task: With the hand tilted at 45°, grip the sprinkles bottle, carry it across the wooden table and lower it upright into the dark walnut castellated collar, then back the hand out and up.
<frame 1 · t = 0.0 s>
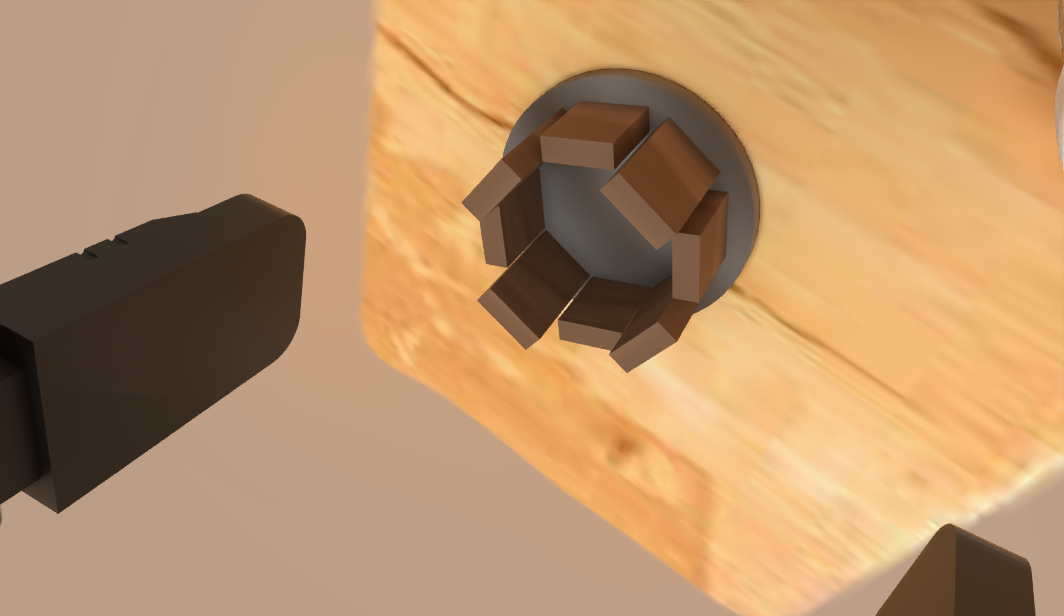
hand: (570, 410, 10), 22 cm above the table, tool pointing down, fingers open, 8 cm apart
castellated collar: (627, 198, 34), on the table
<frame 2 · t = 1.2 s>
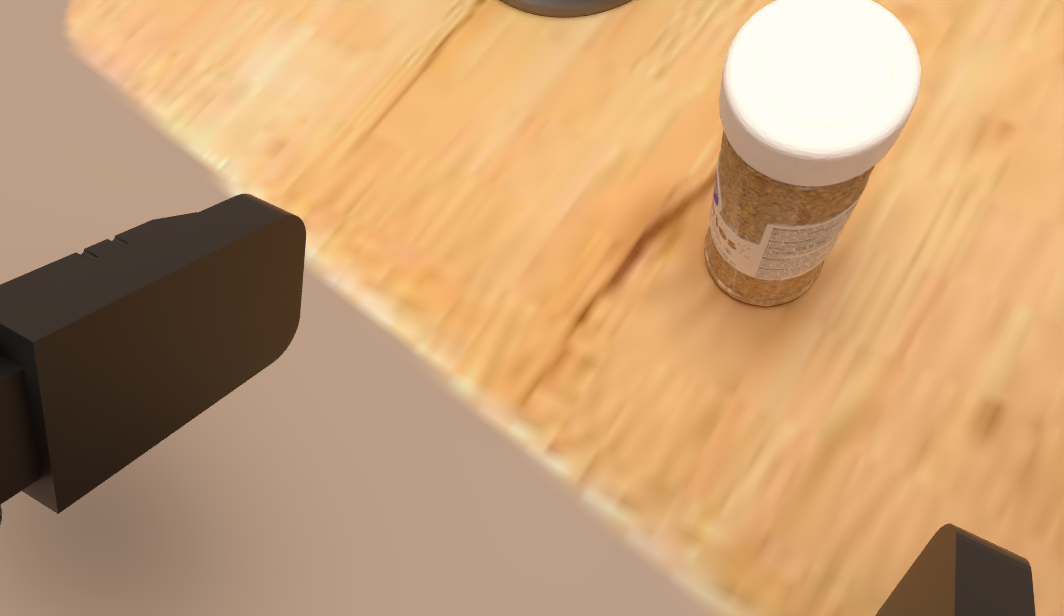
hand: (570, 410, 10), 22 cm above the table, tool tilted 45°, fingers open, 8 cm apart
sprinkles bottle: (762, 256, 32), on the table
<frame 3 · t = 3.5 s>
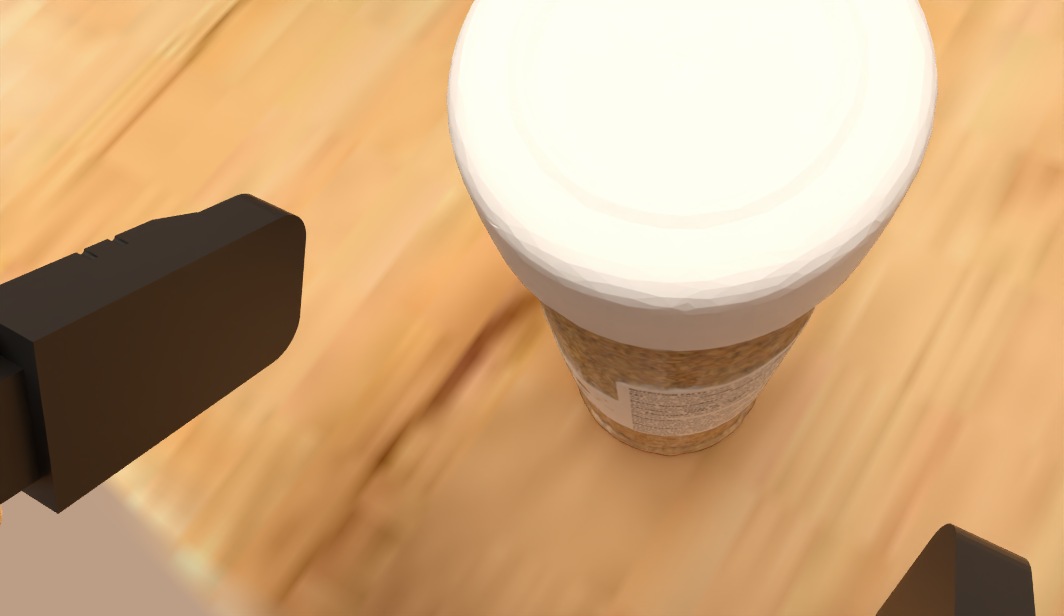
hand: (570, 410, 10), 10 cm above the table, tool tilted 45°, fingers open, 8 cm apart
sprinkles bottle: (668, 367, 20), on the table
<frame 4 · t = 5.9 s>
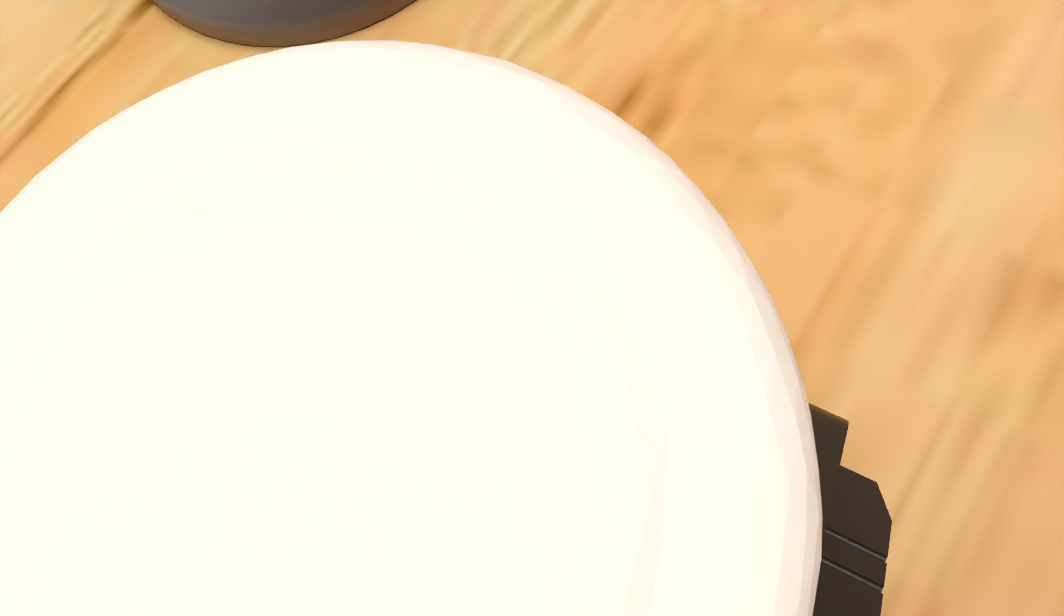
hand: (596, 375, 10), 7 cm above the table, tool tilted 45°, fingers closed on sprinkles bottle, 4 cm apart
sprinkles bottle: (579, 527, 16), on the table, touching gripper
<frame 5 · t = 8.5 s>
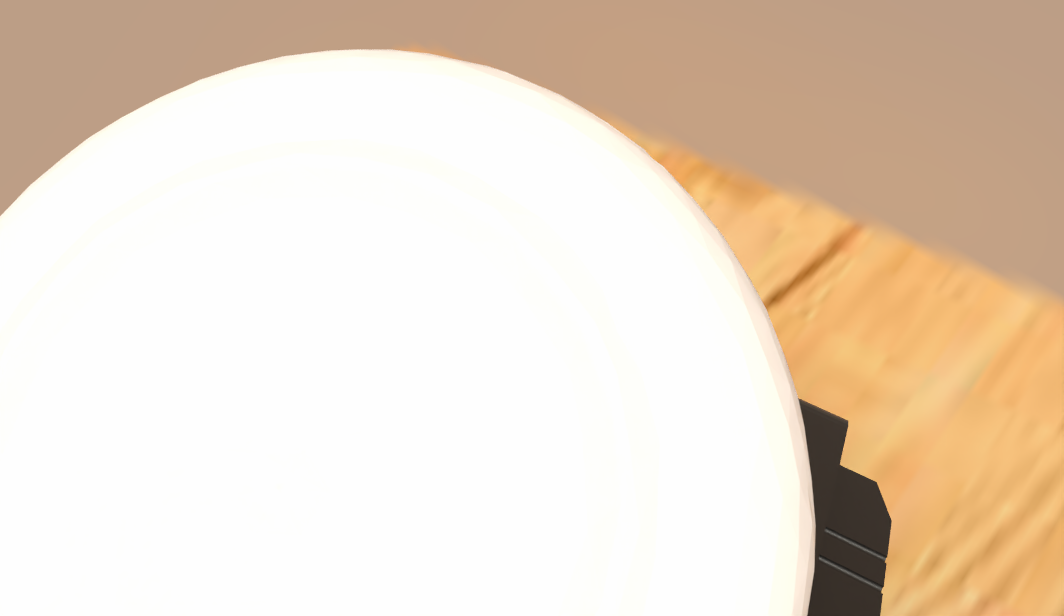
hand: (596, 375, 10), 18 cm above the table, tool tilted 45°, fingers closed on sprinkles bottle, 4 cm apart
sprinkles bottle: (578, 530, 16), point 11 cm above the table, touching gripper
when the fingers open (8 cm above the table, at t = 11.6 s): sprinkles bottle stays where it is, resting on castellated collar.
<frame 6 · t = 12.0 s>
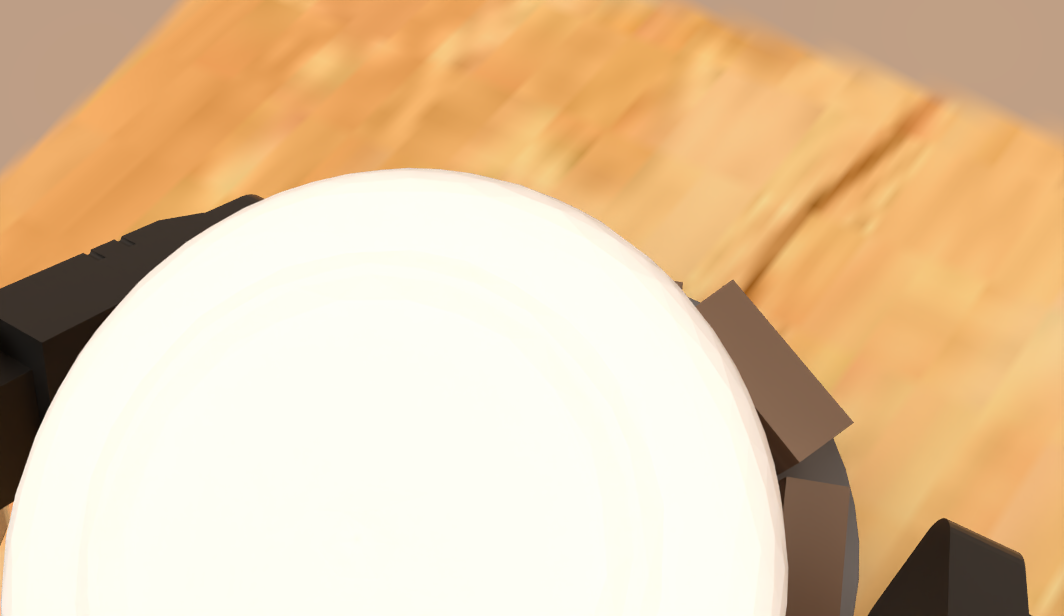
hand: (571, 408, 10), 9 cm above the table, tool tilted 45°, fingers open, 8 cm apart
castellated collar: (586, 529, 18), on the table
sprinkles bottle: (583, 540, 17), point 1 cm above the table, touching castellated collar
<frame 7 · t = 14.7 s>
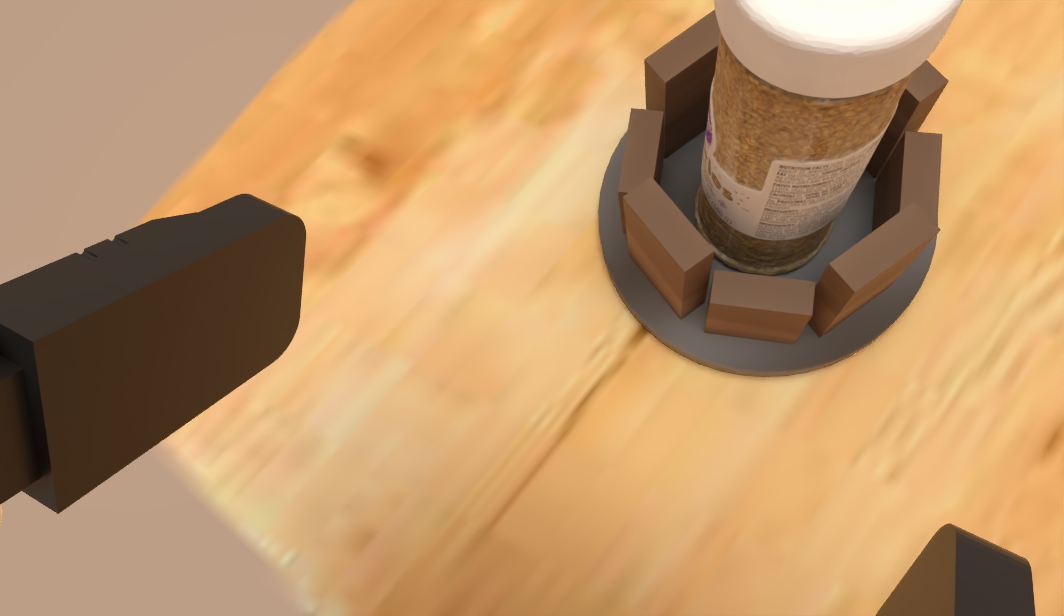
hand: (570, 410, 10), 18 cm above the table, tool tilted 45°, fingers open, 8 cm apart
castellated collar: (759, 220, 29), on the table
sprinkles bottle: (762, 218, 28), point 1 cm above the table, touching castellated collar
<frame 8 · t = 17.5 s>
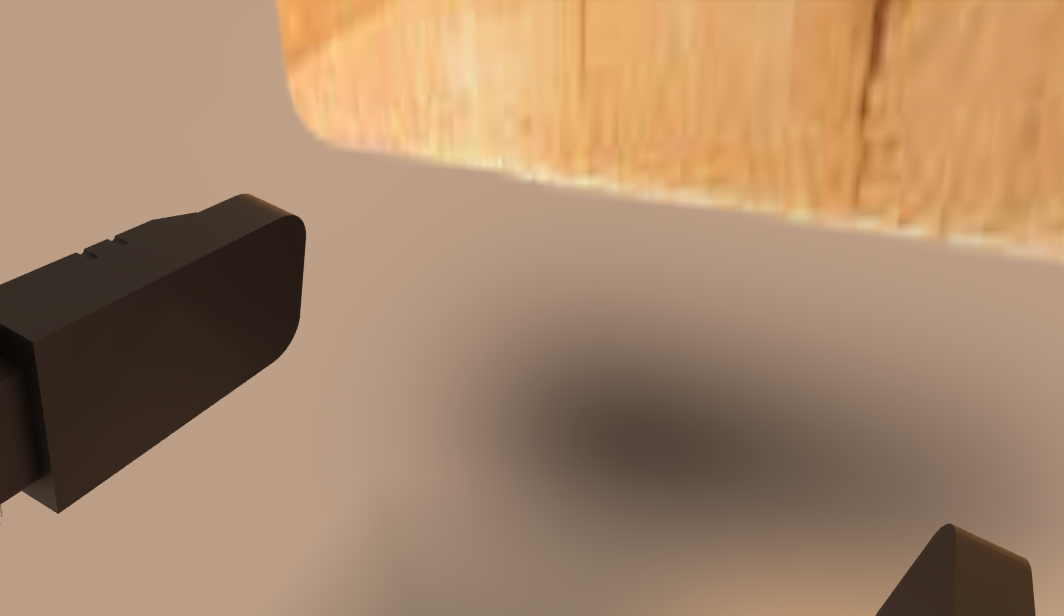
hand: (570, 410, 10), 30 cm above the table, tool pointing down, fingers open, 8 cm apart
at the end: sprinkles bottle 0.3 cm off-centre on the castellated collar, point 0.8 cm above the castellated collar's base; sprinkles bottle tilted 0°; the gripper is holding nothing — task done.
